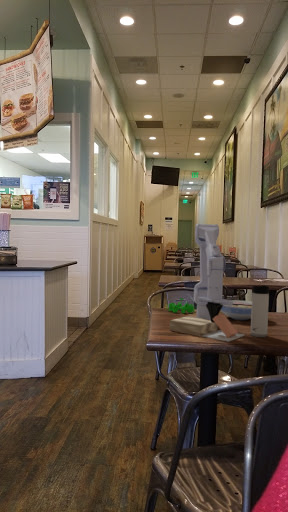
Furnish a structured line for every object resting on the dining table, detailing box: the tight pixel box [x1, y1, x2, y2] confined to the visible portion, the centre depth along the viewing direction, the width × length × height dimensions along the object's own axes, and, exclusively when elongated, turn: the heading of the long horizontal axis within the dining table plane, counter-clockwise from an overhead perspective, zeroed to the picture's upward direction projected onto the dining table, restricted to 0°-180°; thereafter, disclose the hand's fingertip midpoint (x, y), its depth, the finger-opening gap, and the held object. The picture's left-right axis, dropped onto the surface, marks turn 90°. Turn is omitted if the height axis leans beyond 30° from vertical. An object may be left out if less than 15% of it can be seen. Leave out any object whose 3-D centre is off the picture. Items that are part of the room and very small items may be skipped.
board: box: [169, 315, 218, 337], centre depth 163 cm, size 14×14×4 cm
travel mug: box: [250, 284, 270, 338], centre depth 157 cm, size 6×7×20 cm
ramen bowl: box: [217, 299, 271, 321], centre depth 192 cm, size 25×23×8 cm
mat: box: [201, 329, 246, 343], centre depth 154 cm, size 14×11×1 cm
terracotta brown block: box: [213, 313, 239, 338], centre depth 154 cm, size 6×9×2 cm
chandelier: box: [166, 298, 197, 315], centre depth 207 cm, size 15×15×7 cm
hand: (213, 322), depth 157 cm, fingers closed
